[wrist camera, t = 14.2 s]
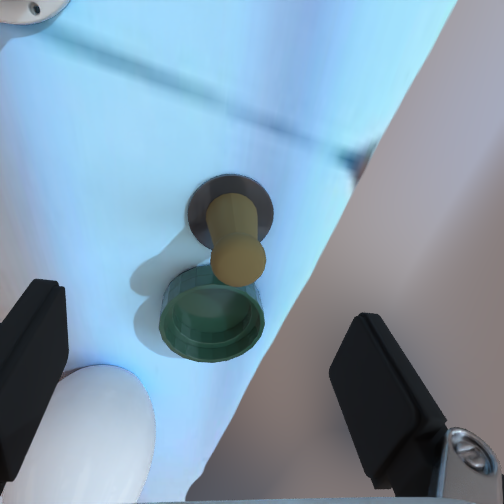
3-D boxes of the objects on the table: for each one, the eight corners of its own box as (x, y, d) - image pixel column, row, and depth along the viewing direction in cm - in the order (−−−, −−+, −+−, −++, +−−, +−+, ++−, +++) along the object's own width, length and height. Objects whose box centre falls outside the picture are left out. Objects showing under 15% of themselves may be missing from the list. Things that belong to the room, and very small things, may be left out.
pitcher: (175, 363, 52) (150, 630, 28) (144, 427, 59) (104, 682, 35) (-2, 326, 44) (-237, 645, 21) (-12, 404, 52) (-195, 706, 28)
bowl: (159, 334, 48) (155, 359, 45) (168, 257, 42) (164, 278, 38) (248, 341, 51) (251, 365, 47) (269, 270, 45) (275, 291, 41)
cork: (248, 244, 42) (261, 301, 33) (200, 234, 40) (198, 291, 31) (264, 200, 39) (282, 248, 30) (212, 187, 38) (215, 234, 28)
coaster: (182, 245, 41) (182, 247, 41) (194, 166, 37) (194, 167, 36) (261, 256, 44) (262, 258, 43) (282, 182, 39) (283, 183, 38)
